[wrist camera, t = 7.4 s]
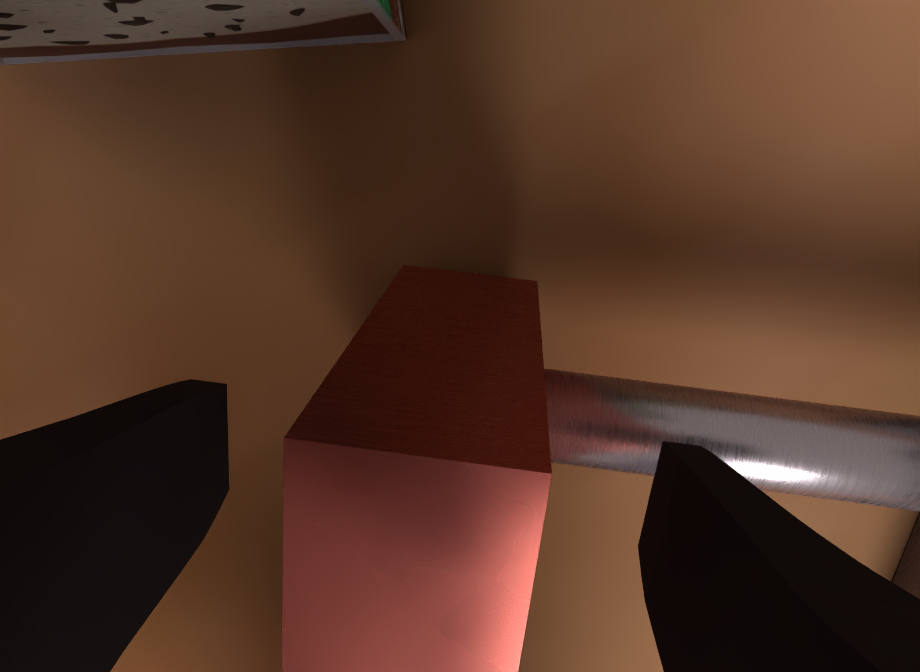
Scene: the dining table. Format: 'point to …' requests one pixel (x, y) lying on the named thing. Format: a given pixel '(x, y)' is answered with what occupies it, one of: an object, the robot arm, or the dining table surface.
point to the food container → (186, 26)
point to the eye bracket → (910, 564)
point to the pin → (502, 472)
